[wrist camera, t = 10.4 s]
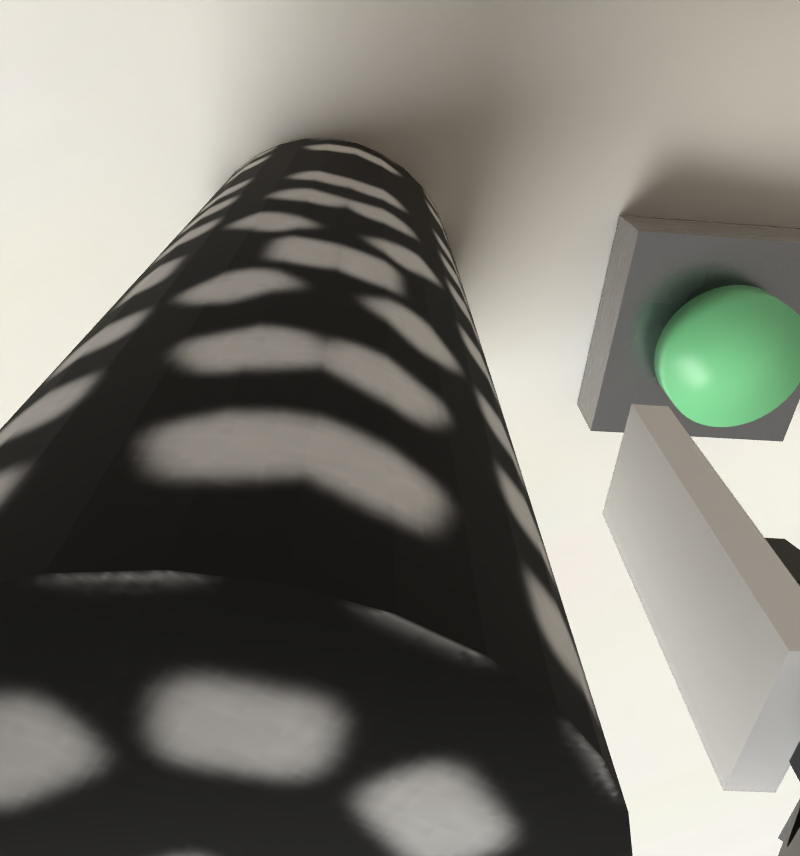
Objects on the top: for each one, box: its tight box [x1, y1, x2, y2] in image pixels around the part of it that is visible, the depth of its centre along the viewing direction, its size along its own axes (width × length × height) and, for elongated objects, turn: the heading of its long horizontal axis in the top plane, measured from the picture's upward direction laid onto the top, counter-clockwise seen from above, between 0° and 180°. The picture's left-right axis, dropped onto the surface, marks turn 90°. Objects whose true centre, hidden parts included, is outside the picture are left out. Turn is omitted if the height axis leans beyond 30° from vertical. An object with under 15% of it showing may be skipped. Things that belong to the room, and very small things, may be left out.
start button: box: [654, 285, 800, 427], centre depth 24 cm, size 4×4×3 cm
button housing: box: [577, 215, 800, 441], centre depth 25 cm, size 7×7×2 cm
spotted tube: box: [0, 139, 632, 856], centre depth 16 cm, size 8×8×20 cm
